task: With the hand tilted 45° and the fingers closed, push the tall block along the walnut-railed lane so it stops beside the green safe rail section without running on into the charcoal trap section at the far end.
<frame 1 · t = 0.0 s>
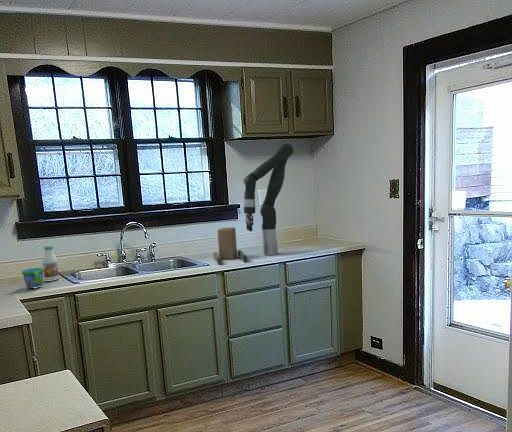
hand: (249, 230, 307), 17 cm above the counter, tool pointing down, fingers open, 8 cm apart
block: (228, 258, 306), on the counter
lane: (230, 260, 298), on the counter
snack cup: (34, 288, 250), on the counter
milk bottle: (51, 280, 268), on the counter
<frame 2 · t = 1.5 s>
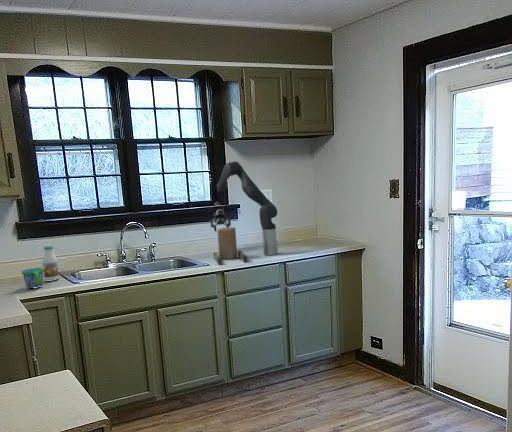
hand: (221, 230, 326), 16 cm above the counter, tool tilted 45°, fingers open, 8 cm apart
nothing on the counter moved.
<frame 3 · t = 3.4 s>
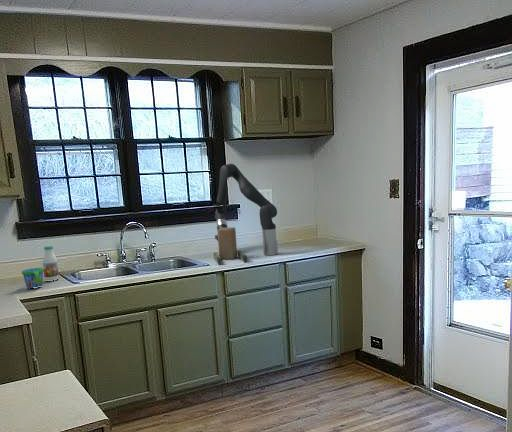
hand: (225, 246, 317), 6 cm above the counter, tool tilted 45°, fingers closed
nothing on the counter moved.
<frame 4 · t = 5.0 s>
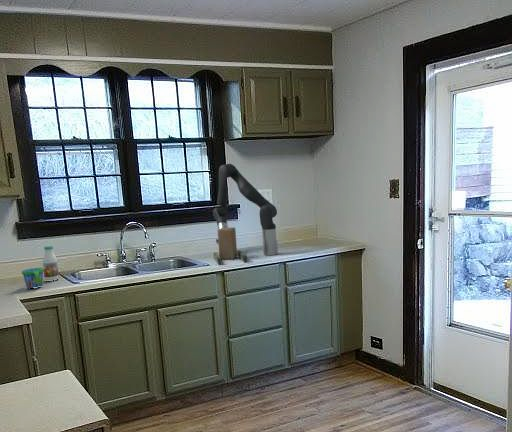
hand: (226, 250, 311), 4 cm above the counter, tool tilted 45°, fingers closed
block: (228, 258, 306), on the counter, touching gripper
everything else where it was.
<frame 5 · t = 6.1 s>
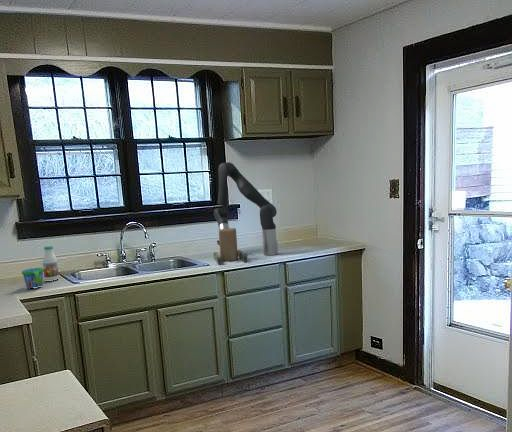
hand: (228, 252, 305), 4 cm above the counter, tool tilted 45°, fingers closed
block: (229, 260, 300), on the counter, touching gripper
everything else where it was.
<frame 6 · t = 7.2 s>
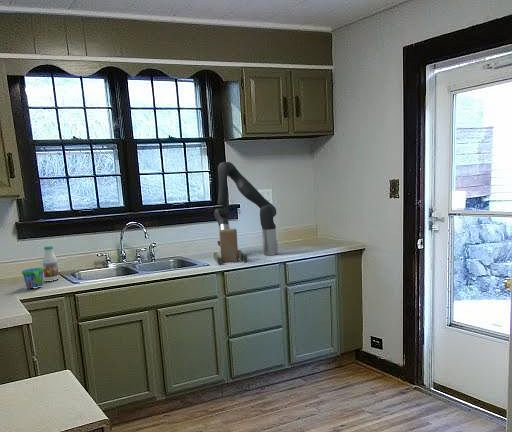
hand: (228, 252, 302), 4 cm above the counter, tool tilted 45°, fingers closed
block: (230, 261, 296), on the counter, touching gripper
everything else where it was.
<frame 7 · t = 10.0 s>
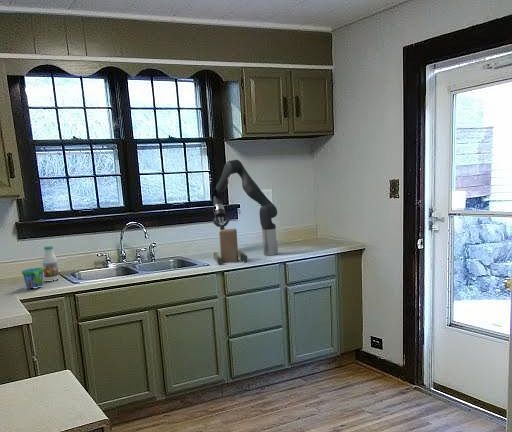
hand: (222, 230, 324), 17 cm above the counter, tool tilted 45°, fingers closed
block: (230, 261, 296), on the counter
everything else where it was.
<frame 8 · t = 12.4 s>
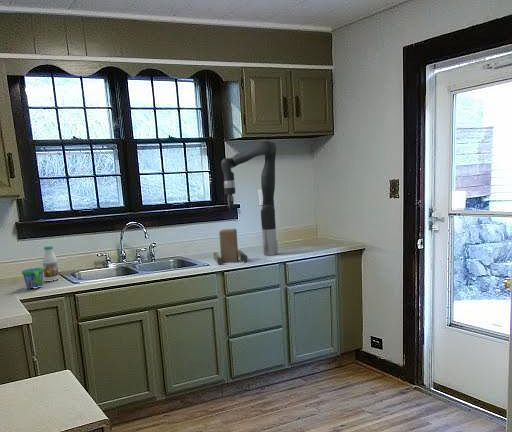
hand: (231, 212, 322), 29 cm above the counter, tool pointing down, fingers closed
nothing on the counter moved.
at the end: block inside the target area (0.7 cm from its centre), on the counter; block tilted 0° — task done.
